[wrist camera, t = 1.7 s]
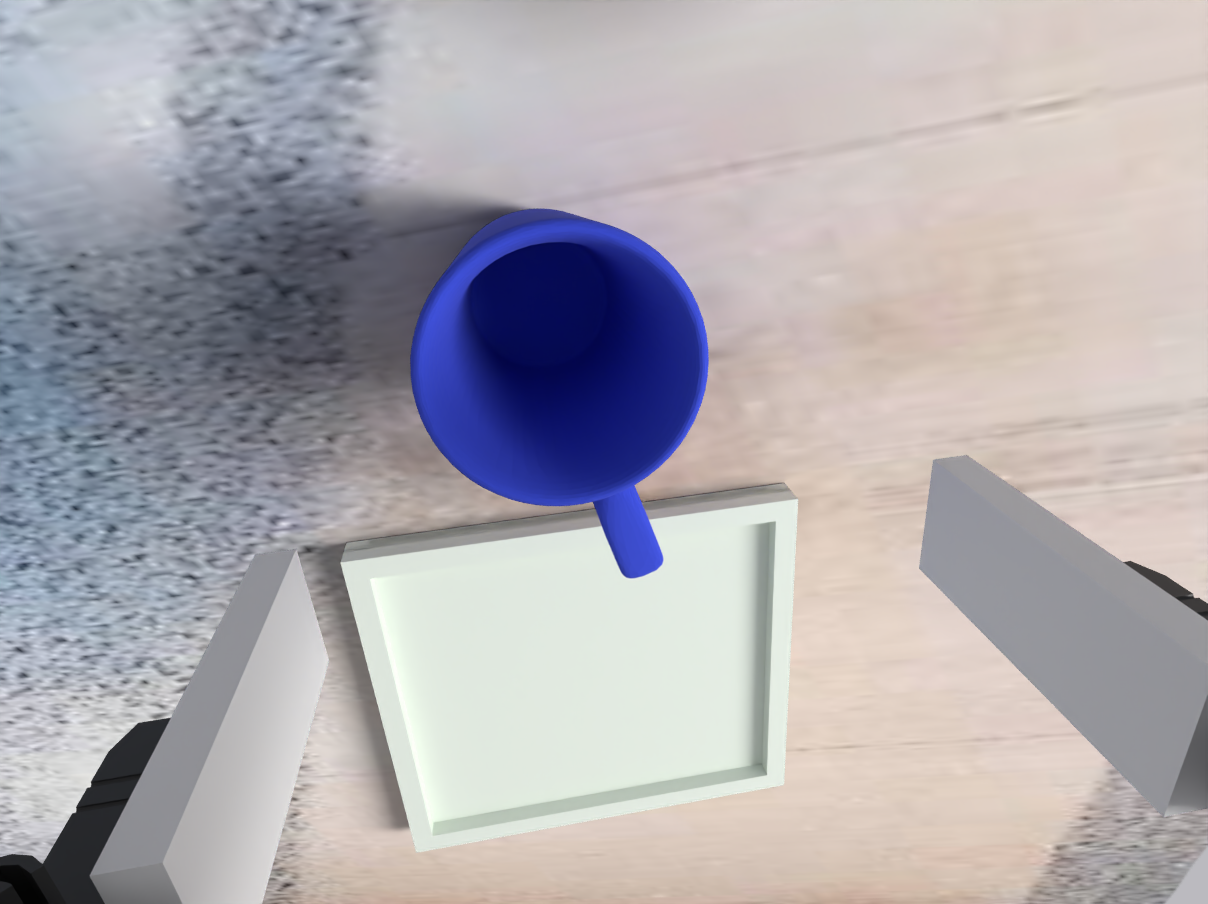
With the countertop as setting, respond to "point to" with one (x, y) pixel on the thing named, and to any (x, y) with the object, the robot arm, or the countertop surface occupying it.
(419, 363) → the mug
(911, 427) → the countertop surface
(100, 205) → the countertop surface
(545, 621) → the tray
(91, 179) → the countertop surface
